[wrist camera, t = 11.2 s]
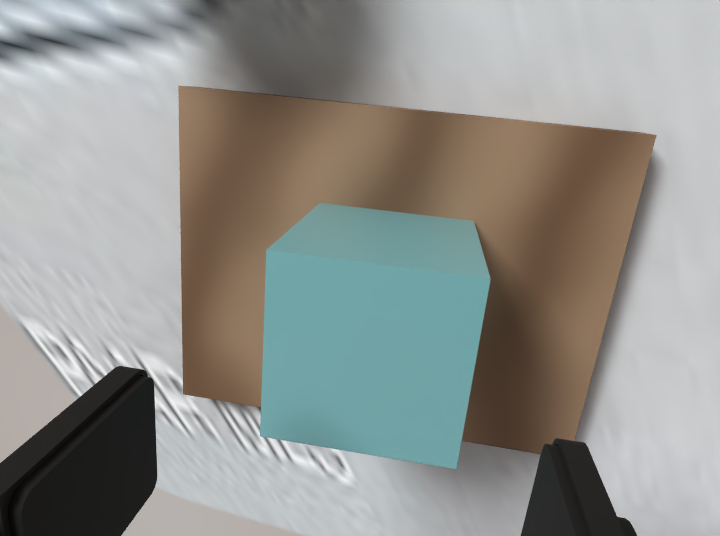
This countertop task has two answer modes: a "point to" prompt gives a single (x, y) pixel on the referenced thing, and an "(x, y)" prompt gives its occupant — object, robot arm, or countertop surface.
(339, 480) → the countertop surface
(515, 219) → the walnut board
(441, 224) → the aqua foam cube
